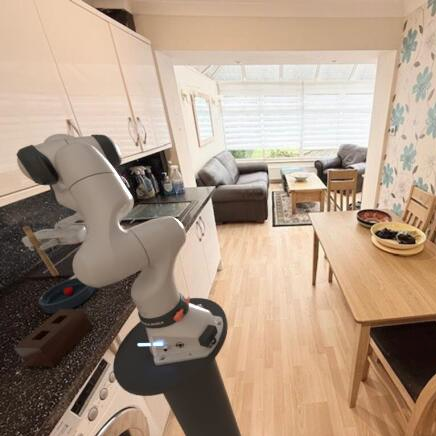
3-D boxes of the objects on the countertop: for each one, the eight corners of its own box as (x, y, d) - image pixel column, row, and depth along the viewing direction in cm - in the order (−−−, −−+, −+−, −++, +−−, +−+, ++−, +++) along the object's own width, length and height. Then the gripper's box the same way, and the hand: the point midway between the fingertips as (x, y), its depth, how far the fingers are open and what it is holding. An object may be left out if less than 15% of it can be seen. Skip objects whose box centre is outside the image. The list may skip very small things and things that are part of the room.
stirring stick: (60, 273, 88) (30, 225, 79) (55, 276, 86) (25, 228, 78) (56, 273, 88) (26, 225, 79) (51, 276, 87) (20, 228, 78)
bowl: (104, 286, 99) (99, 276, 96) (72, 315, 85) (65, 305, 83) (71, 286, 100) (65, 277, 98) (34, 315, 86) (26, 305, 84)
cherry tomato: (77, 291, 95) (73, 285, 94) (70, 296, 93) (66, 290, 91) (70, 291, 96) (67, 285, 94) (63, 296, 93) (59, 291, 92)
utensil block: (93, 326, 80) (82, 309, 76) (54, 366, 68) (39, 348, 64) (71, 326, 80) (59, 309, 77) (29, 366, 68) (13, 347, 65)
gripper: (40, 224, 93) (1, 242, 80) (91, 220, 92) (59, 239, 80) (48, 238, 95) (12, 258, 83) (98, 234, 95) (69, 254, 82)
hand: (36, 248), depth 81 cm, fingers closed on stirring stick, 1 cm apart
